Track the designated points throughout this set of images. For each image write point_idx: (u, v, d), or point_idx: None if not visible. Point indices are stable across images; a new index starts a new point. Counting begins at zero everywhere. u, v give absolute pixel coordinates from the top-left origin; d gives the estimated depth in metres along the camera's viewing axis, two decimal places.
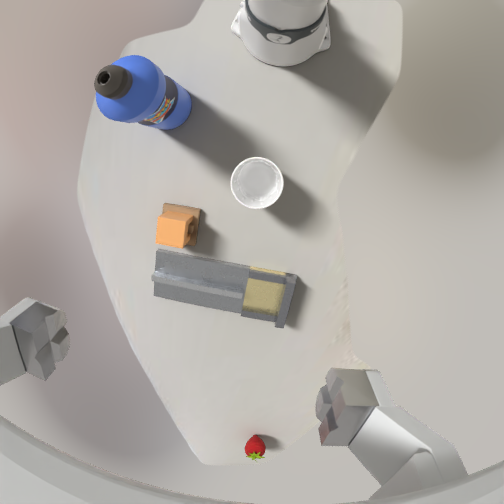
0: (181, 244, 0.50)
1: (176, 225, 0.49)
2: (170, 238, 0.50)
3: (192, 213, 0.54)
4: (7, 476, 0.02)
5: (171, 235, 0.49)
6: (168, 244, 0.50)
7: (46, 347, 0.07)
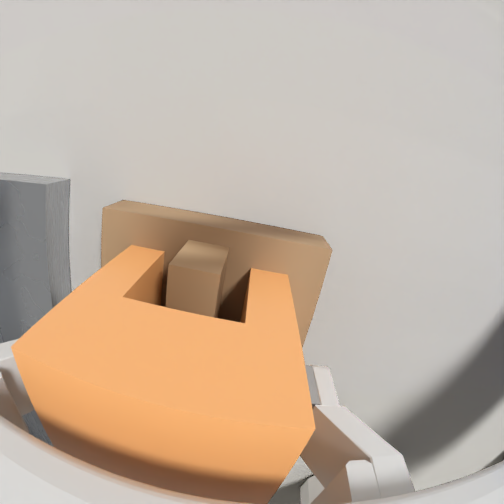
0: None
1: None
2: (101, 460, 0.04)
3: None
4: (7, 476, 0.02)
5: (131, 474, 0.04)
6: (54, 435, 0.04)
7: None
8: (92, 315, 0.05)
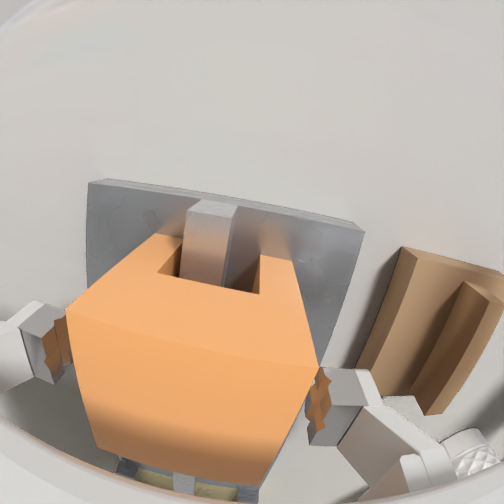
0: (116, 451, 0.06)
1: (233, 458, 0.06)
2: (131, 417, 0.06)
3: None
4: (7, 476, 0.02)
5: (158, 428, 0.06)
6: (88, 396, 0.05)
7: (55, 351, 0.07)
8: (133, 285, 0.06)
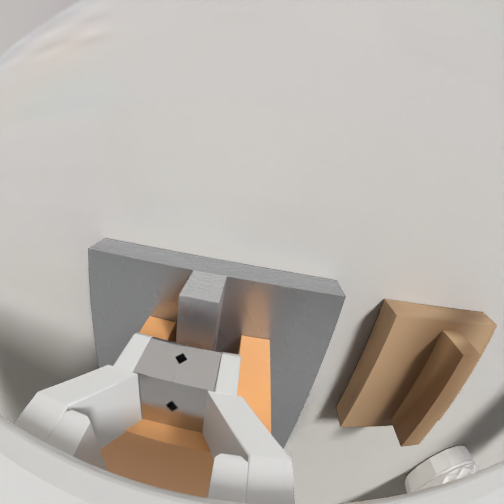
0: None
1: None
2: (142, 474, 0.07)
3: None
4: (7, 476, 0.02)
5: (163, 481, 0.07)
6: (109, 460, 0.07)
7: None
8: None
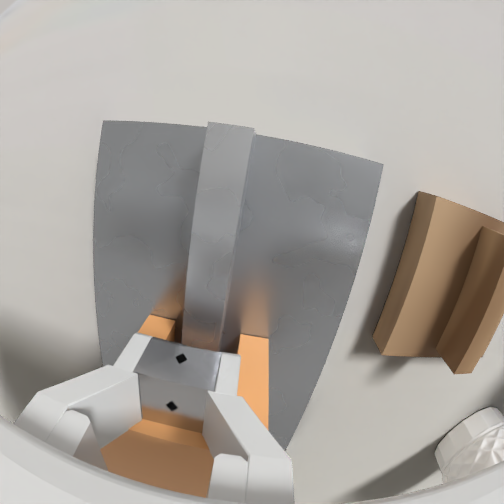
0: None
1: None
2: (140, 471, 0.07)
3: None
4: (7, 476, 0.02)
5: (161, 478, 0.07)
6: (108, 457, 0.07)
7: None
8: None
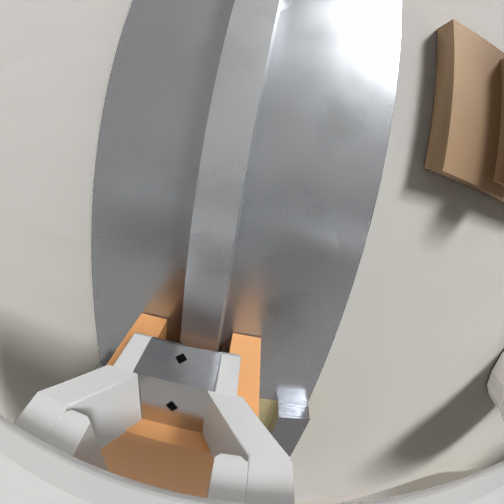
0: None
1: None
2: (132, 470, 0.07)
3: None
4: (7, 476, 0.02)
5: (152, 478, 0.07)
6: None
7: None
8: None
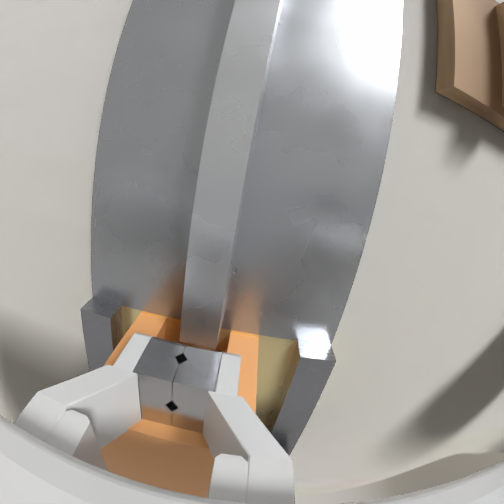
0: None
1: (205, 496, 0.07)
2: (130, 468, 0.07)
3: None
4: (7, 476, 0.02)
5: (150, 476, 0.07)
6: None
7: None
8: None
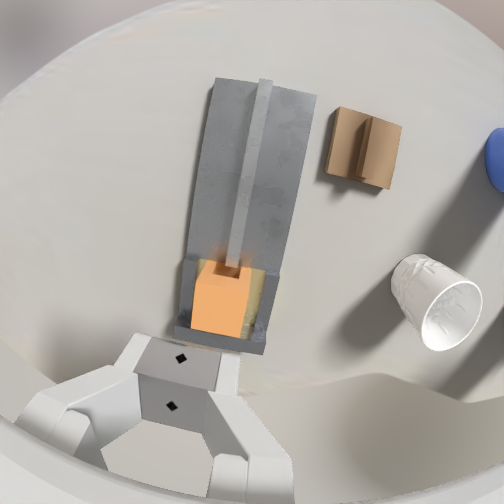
0: (197, 327, 0.27)
1: (232, 323, 0.27)
2: (207, 310, 0.27)
3: (385, 177, 0.28)
4: (7, 476, 0.02)
5: (213, 312, 0.27)
6: (195, 305, 0.27)
7: None
8: (208, 277, 0.27)
